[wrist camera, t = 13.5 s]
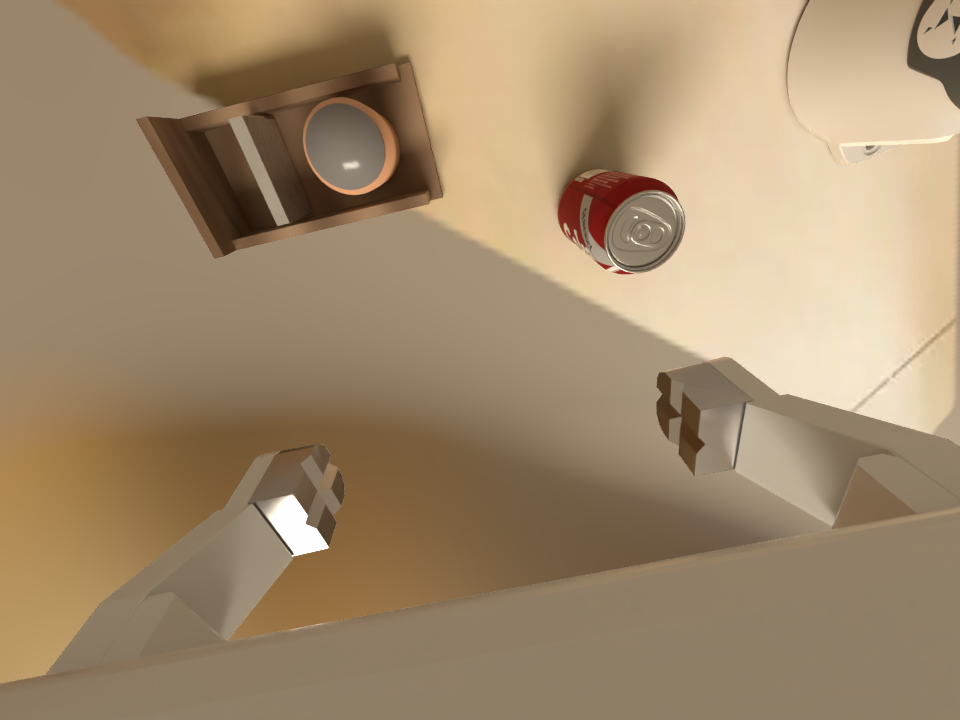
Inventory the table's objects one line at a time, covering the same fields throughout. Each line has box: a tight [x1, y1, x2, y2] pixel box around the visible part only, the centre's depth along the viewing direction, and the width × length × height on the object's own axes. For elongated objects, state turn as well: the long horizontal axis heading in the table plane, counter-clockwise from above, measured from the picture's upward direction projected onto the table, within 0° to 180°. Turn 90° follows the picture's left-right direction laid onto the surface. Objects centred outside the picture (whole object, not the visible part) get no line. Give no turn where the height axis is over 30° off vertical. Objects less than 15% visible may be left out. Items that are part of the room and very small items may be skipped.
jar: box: [303, 97, 401, 195], centre depth 29 cm, size 6×6×7 cm
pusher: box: [228, 116, 312, 226], centre depth 30 cm, size 3×7×6 cm, turn 12°
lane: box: [136, 62, 443, 258], centre depth 31 cm, size 18×10×7 cm, turn 102°
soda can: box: [558, 169, 685, 274], centre depth 32 cm, size 7×7×12 cm
